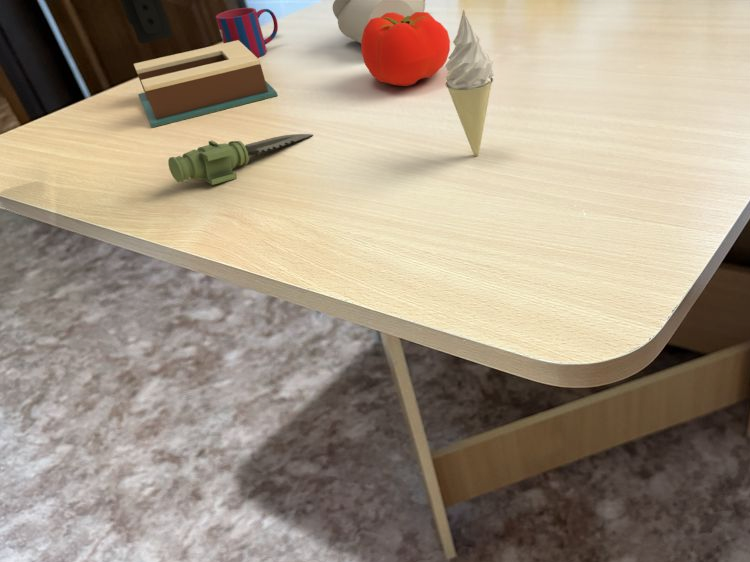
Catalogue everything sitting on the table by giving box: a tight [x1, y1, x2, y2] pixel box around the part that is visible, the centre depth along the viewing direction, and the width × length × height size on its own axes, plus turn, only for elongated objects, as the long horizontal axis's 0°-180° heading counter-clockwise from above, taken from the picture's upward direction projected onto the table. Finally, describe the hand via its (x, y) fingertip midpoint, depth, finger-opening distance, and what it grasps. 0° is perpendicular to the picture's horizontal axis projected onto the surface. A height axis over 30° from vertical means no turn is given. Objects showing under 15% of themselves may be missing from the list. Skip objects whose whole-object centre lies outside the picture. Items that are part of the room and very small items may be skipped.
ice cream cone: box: [444, 9, 495, 157], centre depth 72 cm, size 5×5×15 cm
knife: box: [167, 133, 314, 186], centre depth 81 cm, size 4×18×5 cm
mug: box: [215, 7, 279, 59], centre depth 118 cm, size 7×10×7 cm
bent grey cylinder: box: [332, 0, 426, 44], centre depth 115 cm, size 18×11×20 cm
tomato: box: [360, 11, 451, 87], centre depth 97 cm, size 14×13×9 cm
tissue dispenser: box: [133, 40, 278, 128], centre depth 102 cm, size 18×16×5 cm
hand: (150, 30), depth 69 cm, fingers open, 9 cm apart
